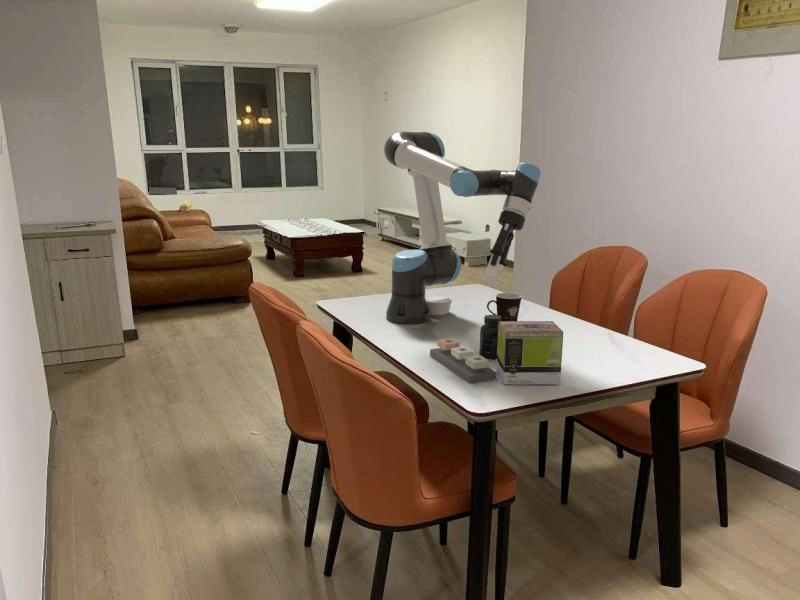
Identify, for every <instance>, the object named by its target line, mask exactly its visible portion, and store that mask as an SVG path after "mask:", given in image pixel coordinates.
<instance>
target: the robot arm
mask: <svg viewBox="0 0 800 600" xmlns="http://www.w3.org/2000/svg"><path fill="white" fill-rule="evenodd" d="M383 153H384V157H385V158H386V160H387V161H388V163H390V164H391V165H393V166H395V167H397V168H399V169H401V170H407V173H408V175H410V176H411V177H412V178H413V185H414V191H415V192H414V194H415V199H416V206H417V213H418V218H419V226H420V228H419V229H420V235H421V241H422V244H421V246H420V247H419V249H405V250H401V251H398V252H395V254H394V255H393V257H392V264H391V297H390V300H389V303H388V305H387V308H386V312H385V318H386V320H388V321H390V322H392V323H397V324H407V325H408V324H409V325H412V324H413V325H415V324H421V323H425V322H428V321H429V320H430V315H429V314H430V313H429V309H428V306H427V302H426V299H425V296H426V287H432V286H438V285H446V284H448V283H452V282H454V281H455V280H456V279H458V276H459V275H460V273H461V271H462V269H461V268H462V259H461V257H460V255H459V254H458V252H457V251H455V250H454V249H453V246H452V243H451V242H449V241H448V240H447V234H446V233H447V232H446V227H445V218H444V213H443V205H442V198H441V193H440V185H439V184H441V185H443V186H446V187H448V188H450V190H451V192H452V194H453V195H455V196H457V197H462V198H463V197H464V198H468V197H479V196H506V197H505V200H504V203H503V206H502V211H501V212H500V215H499V219H498V224H499V225H500V226H502V227H501V229H500V231H499V233H498V236H497V238H496V240H495V243H494V245H493V247H492V249H490V250H489V253H491V255H490V258H489V260H488V261H489V262H488V264H487V267H486V270H485V272H484V276H485V277H489V280H488V284H490V285H494V286H498V283H499V281H500V277H501V275H502V272H503V270H504V267H507V265H508V264H507V262H506V261H507V259H508V254H509V252H510V248H511V246H512V242H513V239H514V238H515V235H514V233H515V232H514V231H521V230H522V229H523V228H524V225H525V222H526V217H527V216H528V212H529V211H532V207H531V204H532V201H533V198H534V195H535V193H536V190H537V188H538V185H539V184H540V178H541V173H542V170H541V169H540V167H538V166H537V165H535V164H532V163H529V162H520V163H518V164H517V166H516V168H515V170H502V169H501V170H500V169H490V170H489V169H488V170H473V169H471V168H468V167H465V166H464V165H462V164H458V163H456V162H454V161H452V160H449V159H447V158H445V157H446V155H445V154H446V151H445V144H444V142H443V140H442V139H441V137H440V136H438V135H437V134H435V133H432V132H429V131H428V132H427V131H421V132H420V131H398V132H394V133H393V134H391V135H390V136H389V137H388V138H387V139H386V141H385V144H384V148H383Z"/></svg>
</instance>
